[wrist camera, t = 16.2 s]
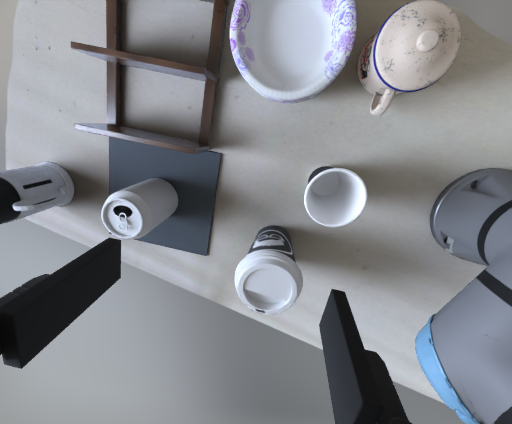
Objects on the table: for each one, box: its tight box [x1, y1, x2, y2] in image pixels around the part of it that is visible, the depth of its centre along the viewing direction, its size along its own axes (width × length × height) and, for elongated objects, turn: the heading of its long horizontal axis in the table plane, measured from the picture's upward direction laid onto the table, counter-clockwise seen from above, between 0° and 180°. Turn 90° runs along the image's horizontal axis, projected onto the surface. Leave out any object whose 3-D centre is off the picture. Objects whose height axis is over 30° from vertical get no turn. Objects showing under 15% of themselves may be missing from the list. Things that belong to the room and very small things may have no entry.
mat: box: [109, 136, 221, 256], centre depth 48 cm, size 20×20×1 cm
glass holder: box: [0, 162, 74, 224], centre depth 42 cm, size 9×14×15 cm, turn 89°
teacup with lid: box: [358, 0, 461, 116], centre depth 32 cm, size 12×9×12 cm
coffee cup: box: [235, 226, 303, 315], centre depth 41 cm, size 10×10×15 cm
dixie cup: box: [304, 166, 367, 227], centre depth 38 cm, size 8×8×11 cm
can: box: [101, 178, 178, 239], centre depth 42 cm, size 8×8×12 cm
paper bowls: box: [230, 0, 357, 103], centre depth 34 cm, size 15×15×8 cm
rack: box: [71, 0, 229, 154], centre depth 37 cm, size 18×21×8 cm
